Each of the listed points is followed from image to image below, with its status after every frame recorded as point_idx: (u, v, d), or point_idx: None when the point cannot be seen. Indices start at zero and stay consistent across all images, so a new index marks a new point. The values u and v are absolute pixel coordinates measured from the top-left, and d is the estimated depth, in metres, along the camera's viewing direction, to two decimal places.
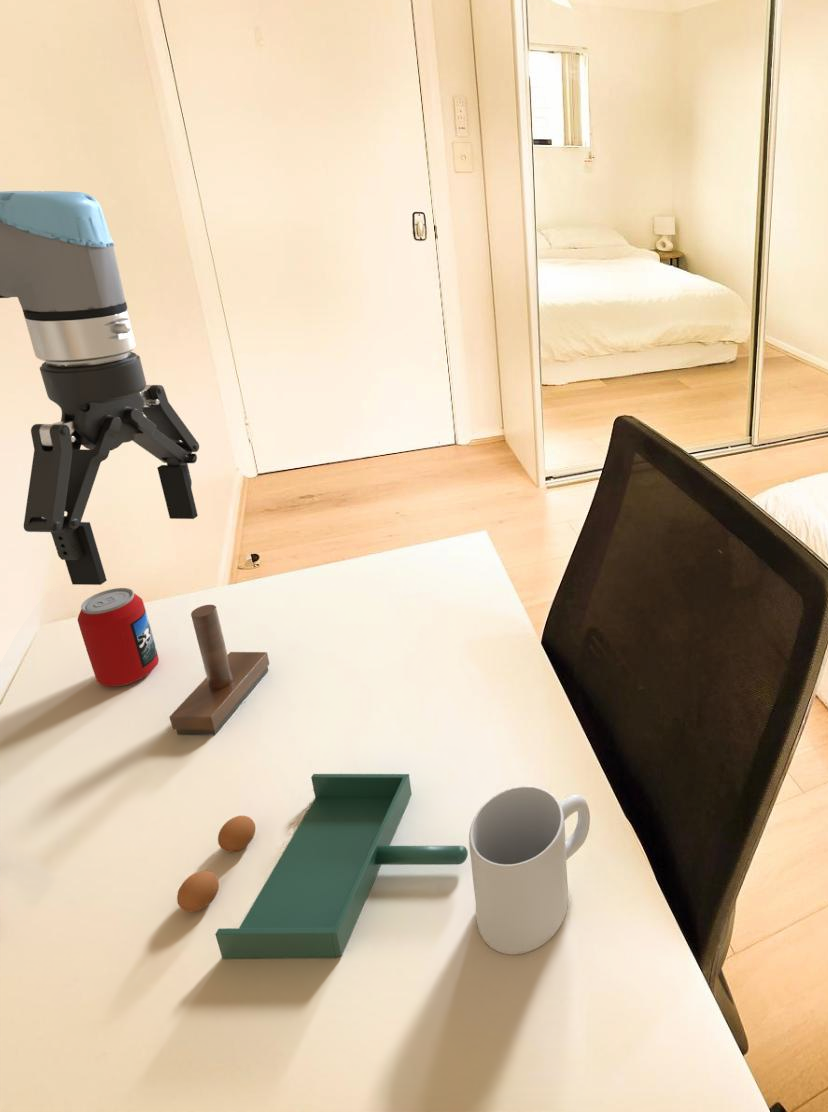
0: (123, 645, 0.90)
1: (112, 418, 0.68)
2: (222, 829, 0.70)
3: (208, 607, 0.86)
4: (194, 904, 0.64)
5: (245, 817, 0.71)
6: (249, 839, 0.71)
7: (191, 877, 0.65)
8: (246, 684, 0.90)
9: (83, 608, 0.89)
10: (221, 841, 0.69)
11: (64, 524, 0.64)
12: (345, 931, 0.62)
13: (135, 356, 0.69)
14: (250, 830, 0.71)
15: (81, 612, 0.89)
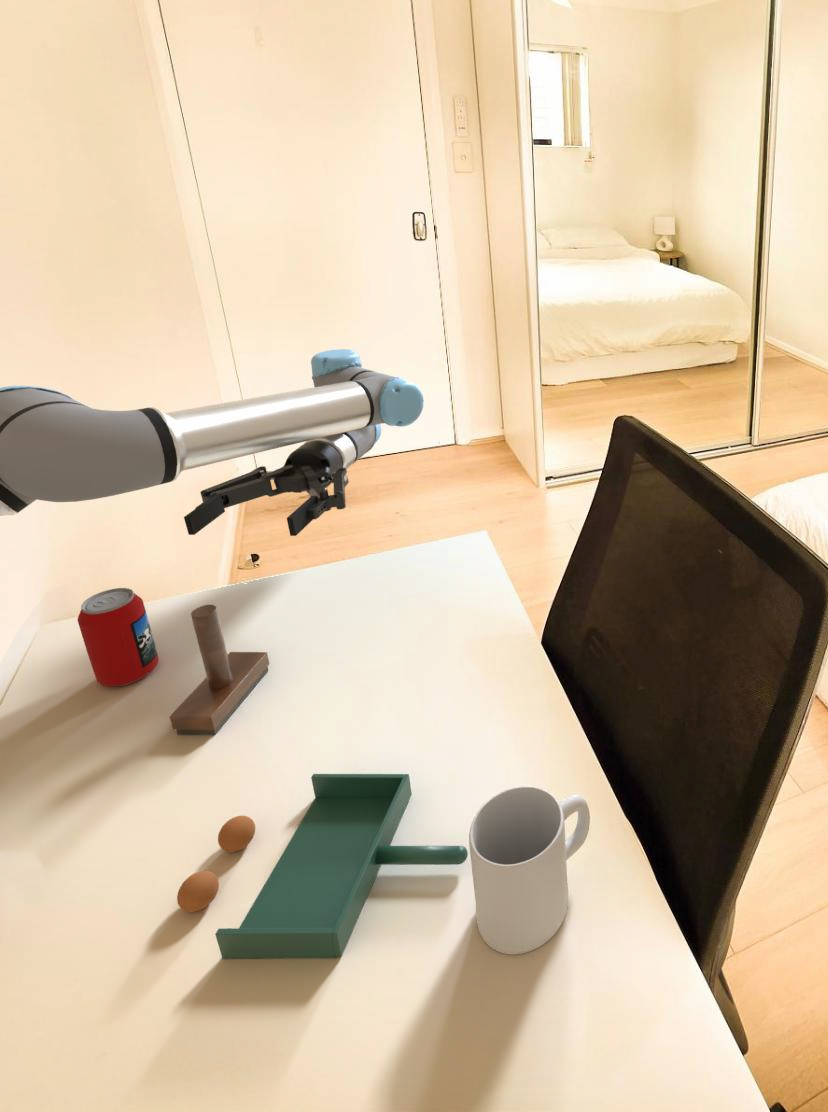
0: (123, 645, 0.90)
1: None
2: (222, 829, 0.70)
3: (208, 607, 0.86)
4: (194, 904, 0.64)
5: (245, 817, 0.71)
6: (249, 839, 0.71)
7: (191, 877, 0.65)
8: (246, 684, 0.90)
9: (83, 608, 0.89)
10: (221, 841, 0.69)
11: None
12: (345, 931, 0.62)
13: None
14: (250, 830, 0.71)
15: (81, 612, 0.89)
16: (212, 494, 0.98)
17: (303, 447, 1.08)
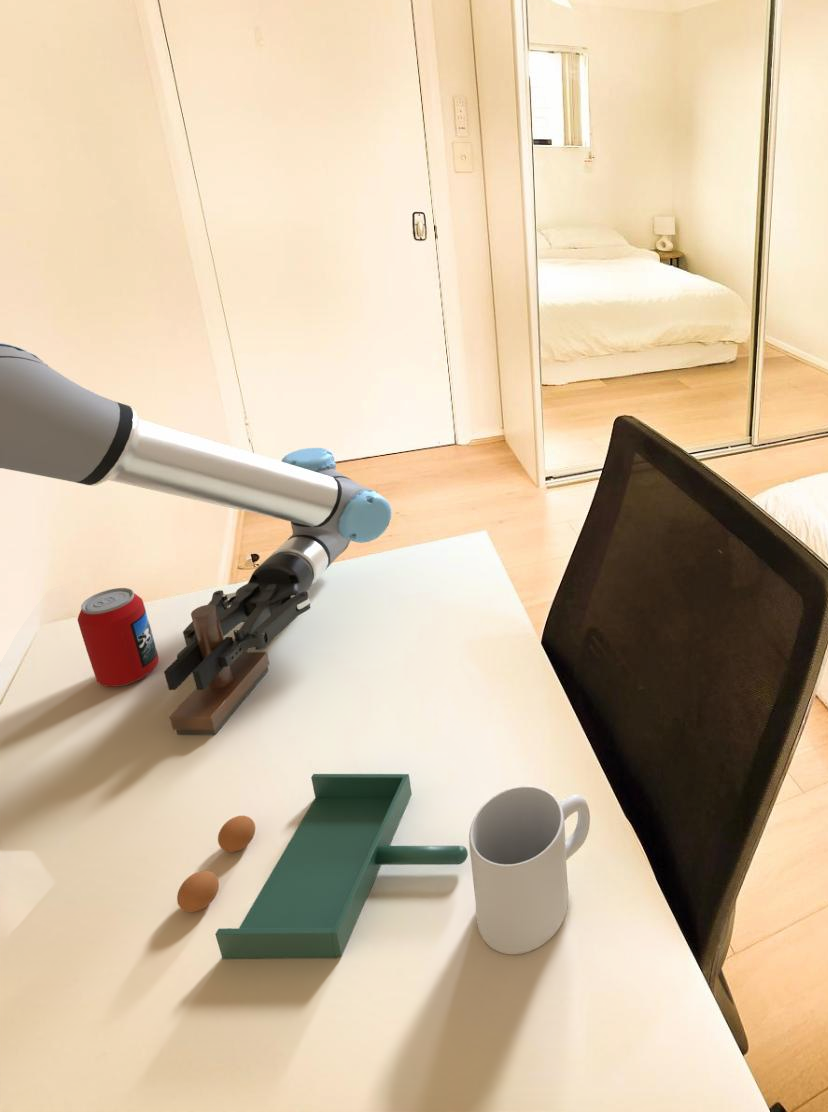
0: (123, 645, 0.90)
1: None
2: (222, 829, 0.70)
3: (208, 607, 0.86)
4: (194, 904, 0.64)
5: (245, 817, 0.71)
6: (249, 839, 0.71)
7: (191, 877, 0.65)
8: (246, 684, 0.90)
9: (83, 608, 0.89)
10: (221, 841, 0.69)
11: None
12: (345, 931, 0.62)
13: None
14: (250, 830, 0.71)
15: (81, 612, 0.89)
16: None
17: (270, 562, 1.01)
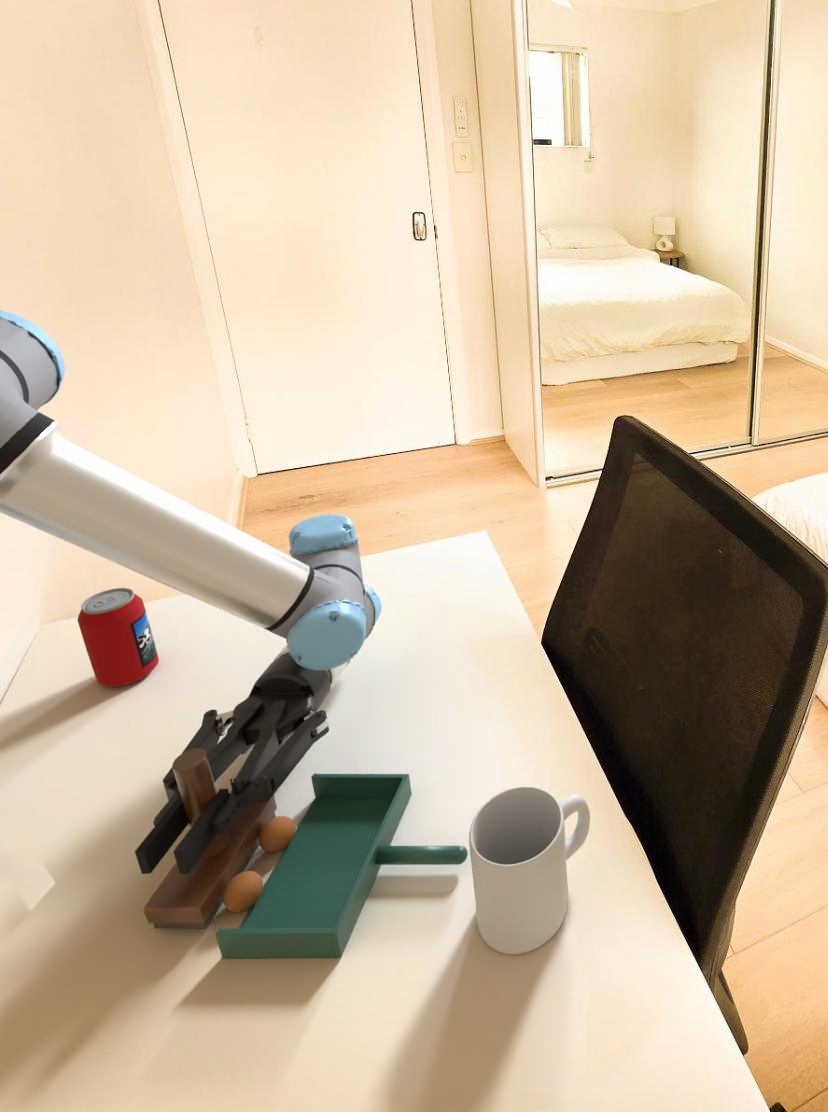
0: (123, 645, 0.90)
1: None
2: (289, 841, 0.71)
3: (196, 753, 0.64)
4: (230, 909, 0.64)
5: None
6: None
7: None
8: (247, 846, 0.69)
9: (83, 608, 0.89)
10: (277, 847, 0.70)
11: None
12: (345, 931, 0.62)
13: None
14: None
15: (81, 612, 0.89)
16: None
17: (277, 669, 0.79)
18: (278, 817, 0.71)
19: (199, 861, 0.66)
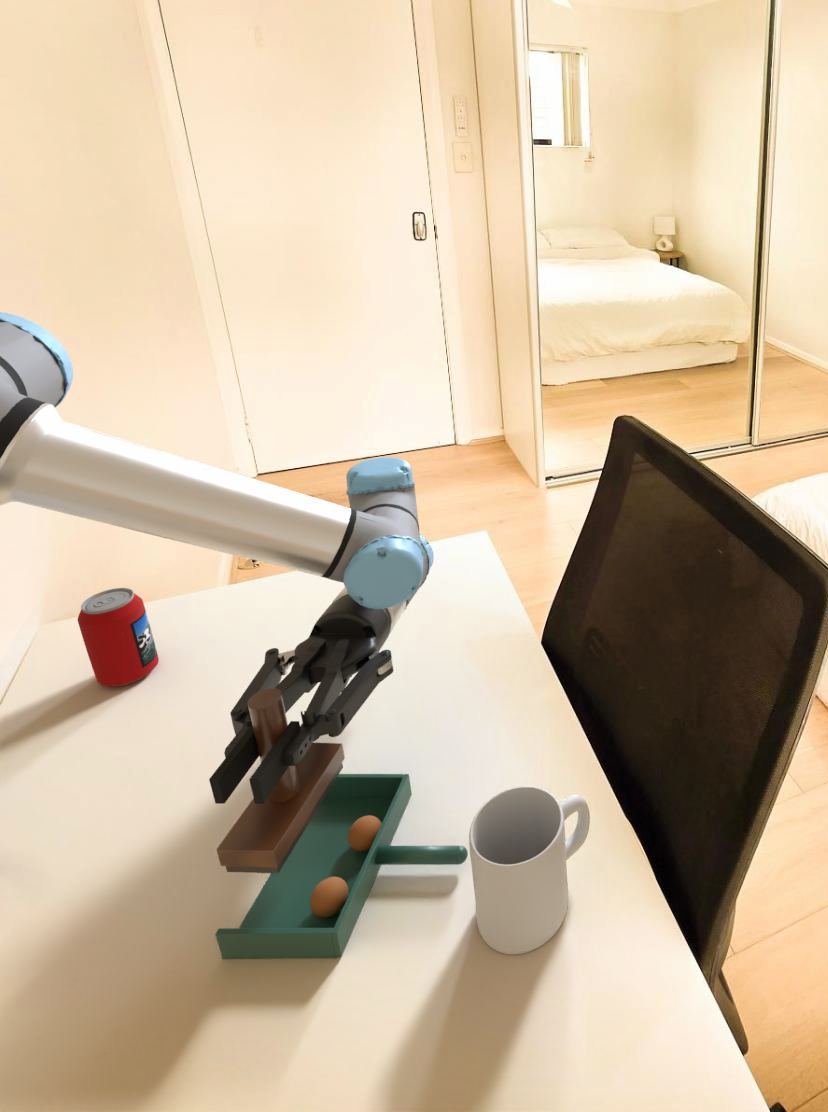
0: (123, 645, 0.90)
1: None
2: None
3: (271, 693, 0.62)
4: None
5: None
6: None
7: (346, 896, 0.65)
8: (317, 793, 0.66)
9: (83, 608, 0.89)
10: (365, 842, 0.70)
11: None
12: (345, 931, 0.62)
13: None
14: None
15: (81, 612, 0.89)
16: None
17: (338, 608, 0.76)
18: None
19: (271, 806, 0.64)
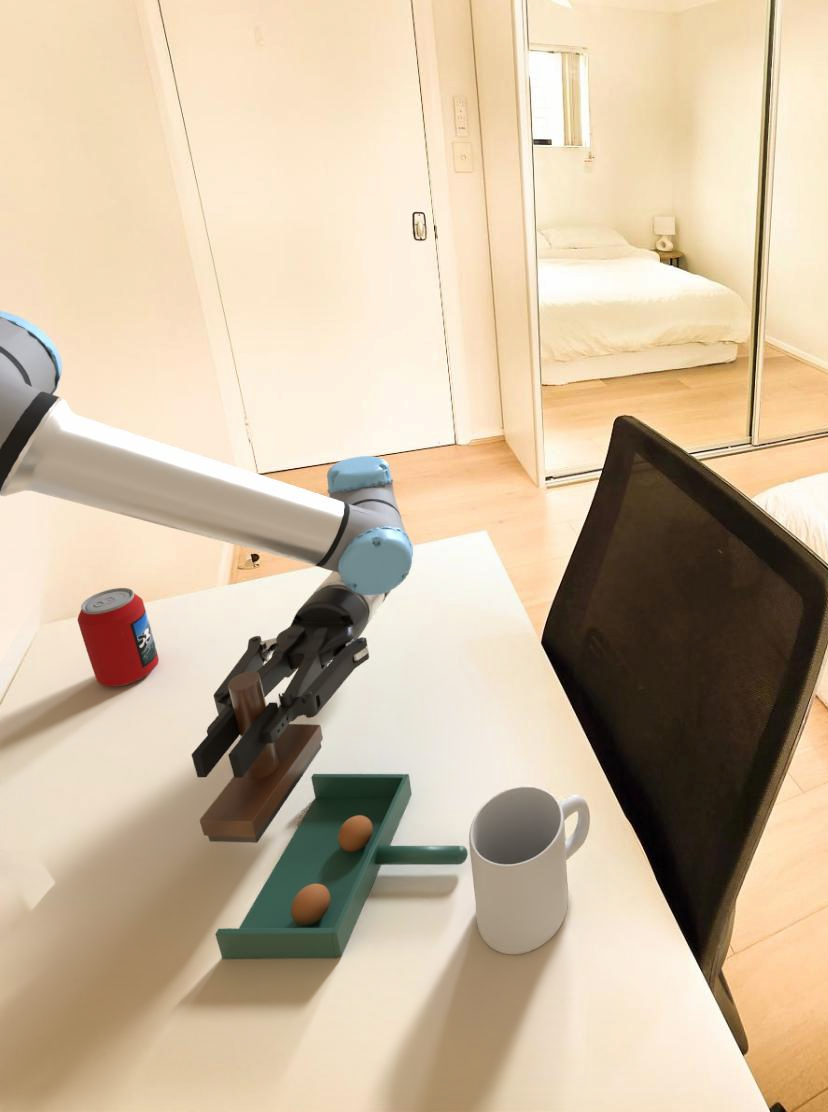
0: (123, 645, 0.90)
1: None
2: (360, 829, 0.70)
3: (250, 675, 0.67)
4: (315, 921, 0.64)
5: (372, 829, 0.72)
6: None
7: (317, 898, 0.63)
8: (295, 770, 0.71)
9: (83, 608, 0.89)
10: (351, 840, 0.69)
11: None
12: (345, 931, 0.62)
13: None
14: None
15: (81, 612, 0.89)
16: None
17: (318, 599, 0.81)
18: None
19: (251, 781, 0.68)
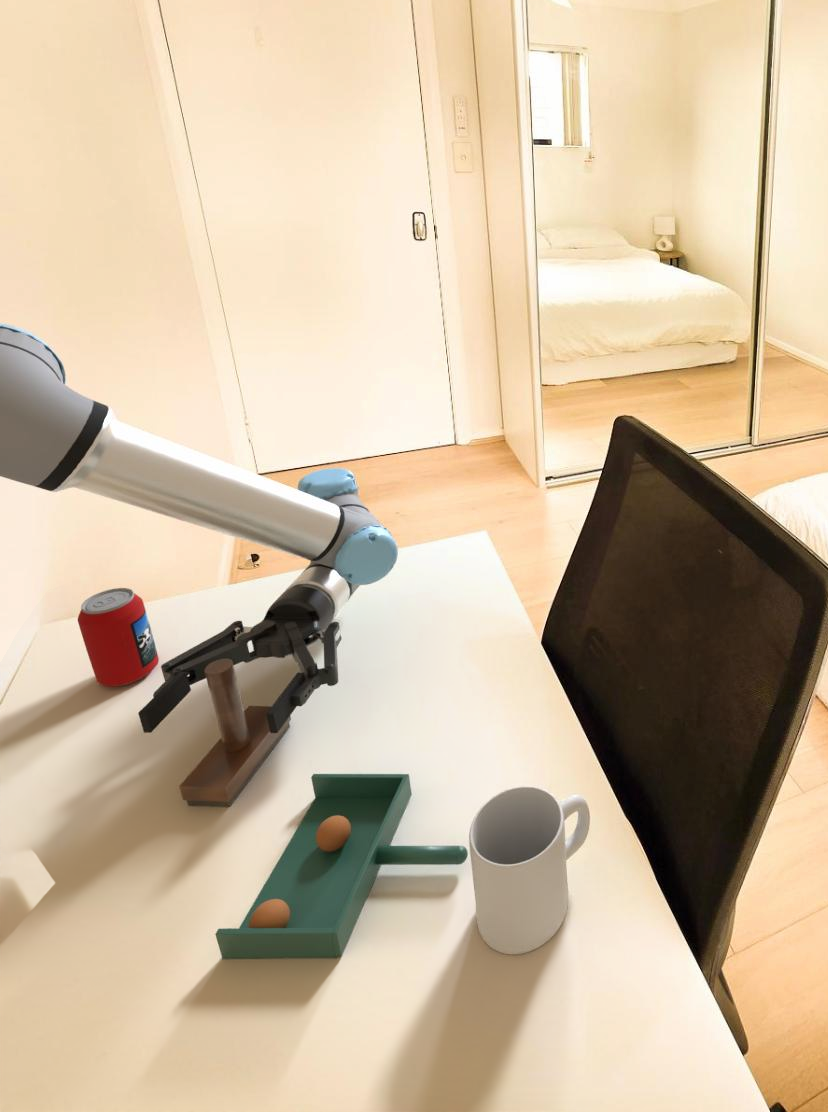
0: (123, 645, 0.90)
1: None
2: (319, 830, 0.70)
3: (224, 662, 0.77)
4: (277, 921, 0.62)
5: (340, 818, 0.71)
6: (345, 839, 0.71)
7: None
8: (265, 746, 0.81)
9: (83, 608, 0.89)
10: (319, 842, 0.69)
11: None
12: (345, 931, 0.62)
13: None
14: (345, 831, 0.70)
15: (81, 612, 0.89)
16: (175, 670, 0.81)
17: (287, 596, 0.91)
18: None
19: (225, 754, 0.78)
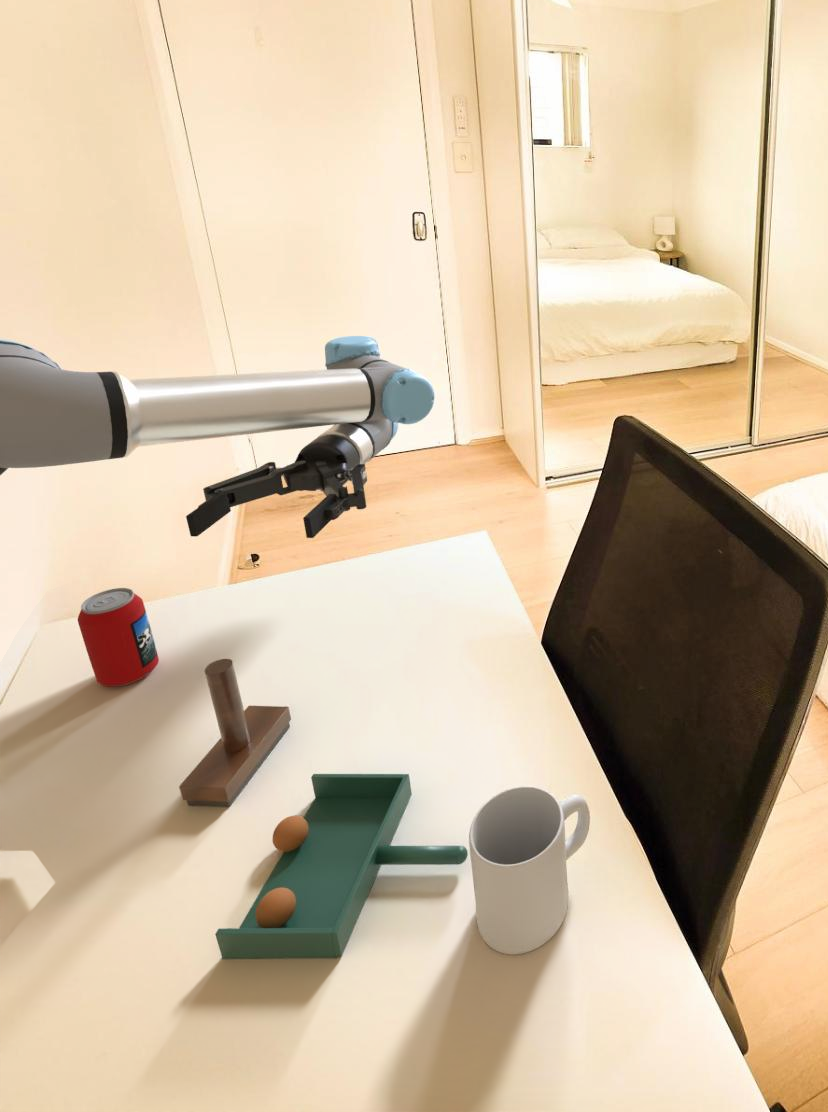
0: (123, 645, 0.90)
1: None
2: None
3: (224, 662, 0.77)
4: (287, 901, 0.63)
5: None
6: (274, 832, 0.70)
7: (257, 912, 0.62)
8: (265, 746, 0.81)
9: (83, 608, 0.89)
10: (289, 850, 0.70)
11: None
12: (345, 931, 0.62)
13: None
14: None
15: (81, 612, 0.89)
16: (217, 491, 0.87)
17: (317, 441, 0.98)
18: (304, 819, 0.71)
19: (225, 754, 0.78)
